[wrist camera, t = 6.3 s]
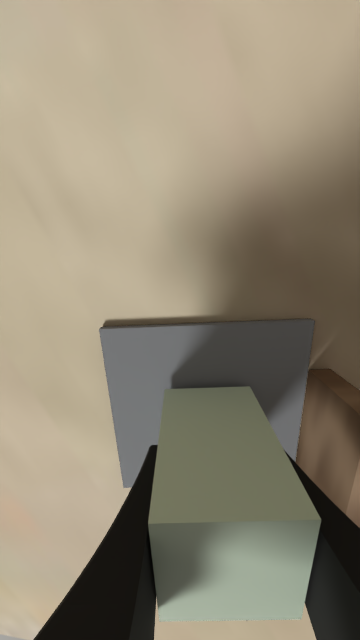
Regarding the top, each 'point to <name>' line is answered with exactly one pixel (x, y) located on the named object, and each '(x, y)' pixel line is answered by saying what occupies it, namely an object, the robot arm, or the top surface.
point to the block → (227, 512)
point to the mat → (203, 375)
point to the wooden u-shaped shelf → (332, 439)
